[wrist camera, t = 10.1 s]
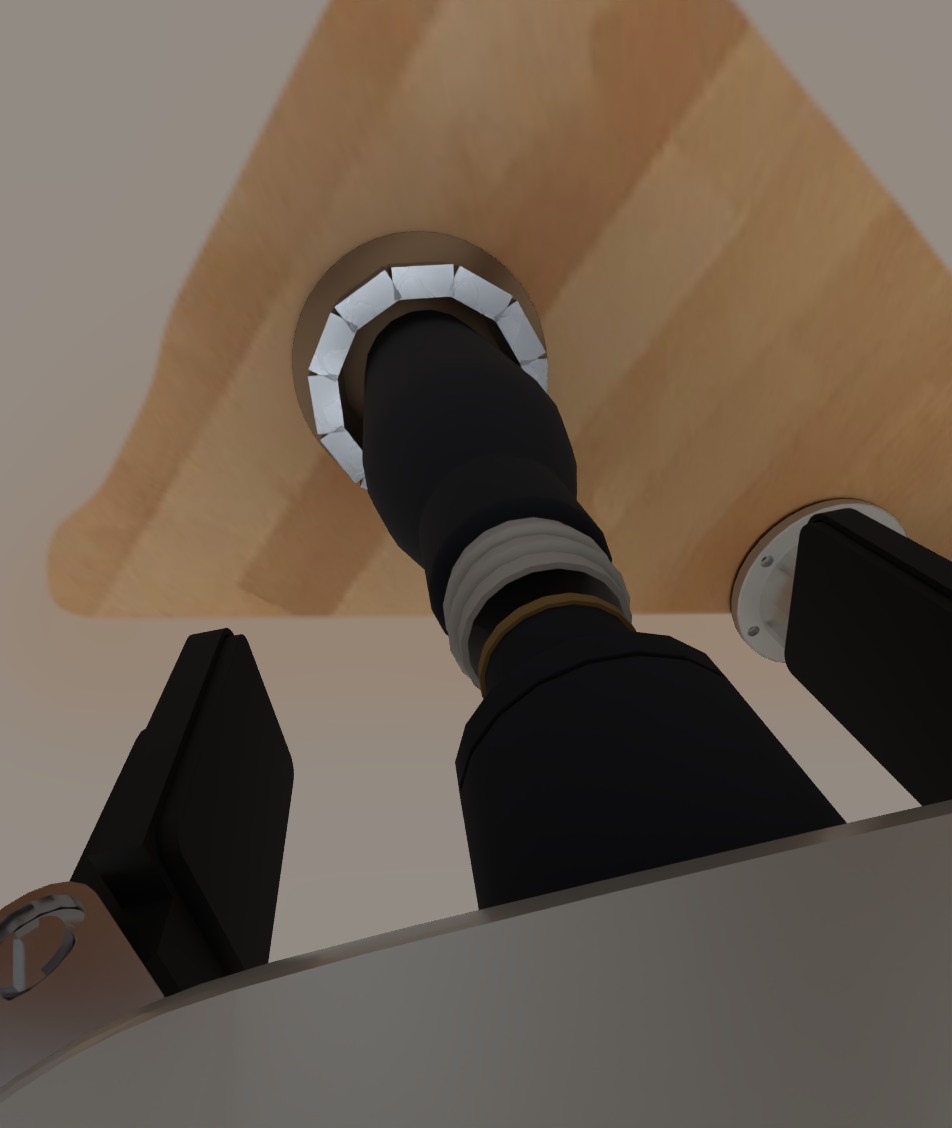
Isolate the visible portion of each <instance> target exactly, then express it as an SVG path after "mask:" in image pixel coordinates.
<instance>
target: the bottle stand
mask: <svg viewBox="0 0 952 1128" xmlns="http://www.w3.org/2000/svg"><path fill="white" fill-rule="evenodd" d="M422 310H435V311H439V312H443V313H447V314H451V315H453V316H454V317H456V318H457V319H459V320H461V321H462V322H464V323H465V324H467V325H468V326H470V327H471V328H472V329H473V330H475V331H476V332H477V333H478V334H480V335H481V336H482V337H483V338H485V339H486V340H487V341H488V342H489V343H491V344H492V345H493V346H494V347H496V348H497V349H498V350H499V351H501V352H502V353H503V354H504V355H506V356H507V357H508V358H509V359H511V360H512V361H513V362H514V363H516V364H517V365H518V366H519V367H520V368H522V369H523V370H524V371H525V372H527V373H528V374H529V375H530V376H532V377H533V378H534V379H535V380H536V381H537V382H538V383H539V384H540V386H541V387H542V388H543V389H544V391H545V392H546V393H547V355H546V345H545V340H544V334H543V330H542V327H541V324H540V321H539V318H538V315H537V313H536V310H535V308H534V306H533V304H532V302H531V300H530V298H529V297H528V295H527V293H526V292H525V290H524V289H523V287H522V285H521V284H520V283H519V282H518V281H517V279H516V278H515V277H514V276H513V275H512V273H511V272H510V271H509V270H508V269H507V268H506V267H505V266H503V265H502V264H501V263H500V262H499V261H498V260H497V259H496V258H494V257H493V256H491V255H490V254H488V253H487V252H485V251H484V250H482V249H481V248H479V247H477V246H475V245H473V244H471V243H469V242H467V241H464V240H461V239H458V238H455V237H452V236H449V235H444V234H438V233H433V232H404V233H396V234H391V235H388V236H384V237H381V238H377V239H374V240H372V241H370V242H368V243H365V244H363V245H361V246H359V247H357V248H356V249H354V250H353V251H351V252H350V253H348V254H346V255H345V256H343V257H342V258H341V259H340V260H339V261H338V262H336V263H335V264H334V265H333V266H332V267H331V268H330V269H329V270H328V271H327V272H326V273H325V275H324V276H323V277H322V278H321V279H320V280H319V282H318V283H317V284H316V286H315V288H314V289H313V291H312V292H311V294H310V295H309V297H308V299H307V301H306V303H305V306H304V308H303V310H302V312H301V314H300V318H299V321H298V325H297V328H296V331H295V337H294V344H293V354H292V370H293V379H294V386H295V390H296V394H297V399H298V402H299V405H300V408H301V410H302V413H303V415H304V418H305V420H306V422H307V424H308V426H309V427H310V429H311V431H312V433H313V434H314V436H315V437H316V439H317V440H318V441H319V443H320V444H321V446H322V447H323V448H324V449H325V450H326V451H327V452H328V453H329V455H330V456H331V457H332V458H333V459H334V460H335V461H337V462H338V463H339V464H340V465H341V466H342V468H343V469H344V470H345V471H346V473H347V474H348V475H349V476H350V478H351V479H352V480H353V481H354V483H357V482H358V481H360V487H361V488H364V489H366V490H367V485H366V479H365V474H364V468H363V463H362V451H363V416H364V381H365V369H366V362H367V355H368V352H369V350H370V348H371V346H372V344H373V342H374V340H375V338H376V336H377V335H378V334H379V333H380V332H381V331H382V330H383V329H384V328H385V327H386V326H387V325H388V324H389V323H390V322H391V321H392V320H394V319H396V318H398V317H400V316H403V315H405V314H407V313H409V312H413V311H422Z"/></svg>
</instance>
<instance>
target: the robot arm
mask: <svg viewBox="0 0 952 1128" xmlns="http://www.w3.org/2000/svg"><path fill="white" fill-rule="evenodd" d="M731 607H732V617H733V621H734V624H735V627H736V629H737V631H738V632H739V634H740V636H741V637H742V639H743V640H744V641H745V642H746V643H747V644H748V645H749V646H750V647H751V648H752V649H753V650H755V651H756V652H757V653H758V654H760V655H761V656H763V657H765V658H768V659H770V660H773V661H777V662H783V663H786V664H787V667H788V669H789V671H790V672H791V673H792V675H793V676H794V677H795V678H796V679H797V680H798V681H799V682H800V683H801V684H802V685H803V686H804V687H805V688H806V689H807V690H808V691H809V692H810V693H811V694H812V695H813V696H814V697H815V698H816V699H817V700H818V701H819V702H820V703H821V704H822V705H823V706H824V707H825V708H826V709H827V710H828V711H829V712H830V713H831V714H832V715H833V716H834V717H835V718H836V719H837V720H838V721H839V722H840V723H841V724H842V725H843V726H844V727H845V728H846V729H847V730H848V731H849V732H850V733H851V734H852V735H853V736H854V737H855V738H856V739H857V740H858V741H859V742H860V743H861V744H862V745H863V746H864V747H865V748H866V750H867V751H869V752H870V754H871V755H872V756H874V758H875V759H876V760H877V761H878V762H879V763H880V764H881V765H882V766H884V768H885V769H886V770H887V771H888V772H889V773H890V774H891V775H892V776H893V777H894V778H895V779H896V780H897V781H898V782H899V783H900V784H901V785H902V786H903V787H904V788H905V789H906V790H907V791H908V792H909V793H910V794H911V795H912V796H913V797H914V798H915V799H916V800H917V801H918V802H919V803H920V804H921V805H922V806H921V807H917V808H913V809H908V810H904V811H900V812H895V813H891V814H886V815H882V816H878V817H873V818H869V819H864V820H860V821H856V822H851V823H847V824H842V825H838V826H834V827H829V828H825V829H821V830H816V831H812V832H808V833H804V834H799V835H795V836H791V837H786V838H782V839H778V840H773V841H769V842H765V843H761V844H756V845H752V846H748V847H743V848H739V849H735V850H731V851H726V852H722V853H718V854H713V855H709V856H705V857H701V858H696V859H692V860H688V861H684V862H679V863H675V864H671V865H667V866H662V867H658V868H654V869H650V870H645V871H641V872H637V873H632V874H628V875H624V876H620V877H615V878H611V879H607V880H603V881H599V882H594V883H590V884H586V885H582V886H578V887H574V888H569V889H565V890H561V891H557V892H553V893H549V894H544V895H540V896H536V897H532V898H528V899H523V900H519V901H515V902H511V903H507V904H503V905H498V906H494V907H490V908H486V909H482V910H478V911H473V912H469V913H465V914H461V915H457V916H453V917H449V918H444V919H440V920H436V921H432V922H428V923H424V924H419V925H415V926H411V927H407V928H403V929H399V930H395V931H391V932H388V933H383V934H380V935H376V936H372V937H368V938H364V939H361V940H356V941H353V942H348V943H345V944H341V945H337V946H333V947H329V948H325V949H321V950H317V951H314V952H310V953H306V954H302V955H298V956H294V957H290V958H286V959H283V960H279V961H275V962H271V963H268V959H269V952H270V946H271V938H272V931H273V924H274V917H275V910H276V903H277V895H278V888H279V881H280V874H281V866H282V860H283V852H284V845H285V838H286V831H287V824H288V816H289V809H290V802H291V795H292V788H293V780H294V769H293V763H292V759H291V755H290V752H289V750H288V747H287V745H286V742H285V739H284V736H283V734H282V731H281V728H280V726H279V723H278V720H277V718H276V715H275V713H274V710H273V707H272V704H271V702H270V699H269V697H268V694H267V691H266V689H265V686H264V683H263V681H262V678H261V675H260V673H259V670H258V668H257V665H256V662H255V659H254V657H253V654H252V651H251V649H250V646H249V643H248V641H247V639H246V637H245V636H244V635H242V634H240V635H235V636H234V634H233V633H232V631H231V630H230V629H228V628H224V629H219V630H213V631H209V632H203V633H198V634H193V635H190V636H189V637H188V639H187V640H186V643H185V645H184V647H183V649H182V651H181V653H180V656H179V658H178V660H177V662H176V664H175V667H174V669H173V671H172V673H171V675H170V678H169V680H168V682H167V684H166V686H165V688H164V691H163V693H162V695H161V697H160V699H159V701H158V704H157V706H156V708H155V710H154V712H153V714H152V717H151V719H150V721H149V723H148V725H147V727H146V729H144V730H143V731H141V733H140V734H139V736H138V738H137V739H136V741H135V743H134V745H133V747H132V749H131V752H130V753H129V756H128V758H127V760H126V762H125V764H124V766H123V768H122V771H121V773H120V775H119V777H118V779H117V781H116V783H115V785H114V788H113V790H112V792H111V794H110V796H109V798H108V800H107V802H106V805H105V807H104V809H103V811H102V813H101V815H100V818H99V820H98V822H97V824H96V826H95V828H94V830H93V832H92V834H91V837H90V839H89V841H88V843H87V845H86V848H85V849H84V851H83V854H82V856H81V858H80V860H79V862H78V865H77V866H76V869H75V871H74V873H73V875H72V877H71V879H70V881H69V882H62V883H55V884H50V885H47V886H44V887H42V888H39V889H37V890H34V891H31V892H29V893H27V894H25V895H23V896H22V897H20V898H18V899H17V900H15V901H13V902H12V903H10V904H8V905H7V906H5V907H4V908H2V909H1V910H0V1128H952V562H951V561H949V560H947V559H946V558H944V557H942V556H940V555H938V554H936V553H935V552H933V551H931V550H929V549H927V548H925V547H924V546H922V545H920V544H918V543H916V542H914V541H912V540H911V539H909V538H907V535H906V532H905V530H904V528H903V527H902V525H901V524H900V523H899V521H898V520H897V519H896V518H895V517H893V516H892V515H891V514H890V513H888V512H887V511H885V510H883V509H881V508H879V507H877V506H875V505H873V504H871V503H868V502H864V501H861V500H857V499H837V500H830V501H824V502H821V503H818V504H815V505H812V506H809V507H806V508H804V509H802V510H800V511H798V512H796V513H794V514H793V515H791V516H789V517H787V518H786V519H785V520H783V521H782V522H780V523H779V524H778V525H776V526H775V527H774V528H772V529H771V530H770V531H769V532H768V533H767V534H766V535H765V536H764V537H763V538H762V539H761V540H760V541H759V542H758V543H757V545H756V546H755V547H754V548H753V550H752V551H751V552H750V554H749V555H748V556H747V558H746V560H745V562H744V563H743V565H742V567H741V569H740V570H739V573H738V576H737V579H736V581H735V584H734V588H733V594H732V599H731Z"/></svg>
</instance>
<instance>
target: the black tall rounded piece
mask: <svg viewBox="0 0 952 1128" xmlns="http://www.w3.org/2000/svg"><path fill="white" fill-rule="evenodd" d="M362 463H363V468H364V474H365V479H366V485H367V490H368V494H369V496H370V498H371V500H372V502H373V504H374V506H375V508H376V509H377V511H378V513H379V515H380V517H381V518H382V520H383V522H384V524H385V526H386V527H387V529H388V531H389V533H390V534H391V536H392V537H393V539H394V540H395V542H396V543H397V545H398V546H399V547H400V548H401V549H402V550H403V551H404V552H406V553H407V554H408V555H409V556H410V557H411V558H412V559H413V560H414V561H415V562H417V563H418V564H419V565H420V566H421V567H422V568H424V569H425V574H426V580H427V586H428V591H429V597H430V603H431V609H432V611H433V613H434V615H435V616H436V618H437V620H438V621H439V624H440V625H441V627H442V629H443V630H444V632H445V634H446V635H448V636H449V642H450V650H451V652H452V654H453V656H454V657H455V659H456V661H457V663H458V665H459V666H460V668H461V670H462V672H463V673H464V674H465V675H467V676H468V677H469V678H470V679H471V680H472V682H473V684H474V685H475V686H476V687H477V688H479V689H480V690H481V693H482V697H483V699H484V700H483V701H482V702H481V704H480V705H479V707H478V708H477V709H476V711H475V712H474V714H473V715H472V717H471V718H470V719H469V721H468V722H467V724H466V725H465V729H464V732H463V736H462V740H461V743H460V747H459V750H458V754H457V758H456V761H455V764H456V771H457V778H458V785H459V793H460V799H461V805H462V811H463V817H464V823H465V829H466V835H467V841H468V847H469V853H470V859H471V865H472V871H473V877H474V883H475V889H476V895H477V902H478V908H479V910H482V909H486V908H490V907H494V906H498V905H503V904H507V903H511V902H515V901H519V900H523V899H528V898H532V897H536V896H540V895H544V894H549V893H553V892H557V891H561V890H565V889H569V888H574V887H578V886H582V885H586V884H590V883H594V882H599V881H603V880H607V879H611V878H615V877H620V876H624V875H628V874H632V873H637V872H641V871H645V870H650V869H654V868H658V867H662V866H667V865H671V864H675V863H679V862H684V861H688V860H692V859H696V858H701V857H705V856H709V855H713V854H718V853H722V852H726V851H731V850H735V849H739V848H743V847H748V846H752V845H756V844H761V843H765V842H769V841H773V840H778V839H782V838H786V837H791V836H795V835H799V834H804V833H808V832H812V831H816V830H821V829H825V828H829V827H834V826H838V825H842V824H847V823H846V822H845V820H844V819H843V818H842V817H841V816H840V815H839V813H838V812H837V811H836V810H835V808H834V807H833V806H832V805H831V803H829V801H828V800H827V799H826V797H825V796H824V795H823V794H822V793H821V791H820V790H819V789H818V788H817V787H816V786H815V784H814V783H813V782H812V781H811V779H810V778H809V777H808V776H807V774H805V772H804V771H803V770H802V768H801V767H800V766H799V765H798V764H797V762H796V761H795V760H794V759H793V758H792V756H791V755H790V754H789V753H788V751H787V750H786V749H785V748H784V747H783V745H782V744H781V743H780V742H779V741H778V739H777V738H776V737H775V736H774V735H773V733H772V732H771V731H770V730H769V729H768V727H767V726H766V725H765V724H764V722H763V721H762V720H761V719H760V718H759V716H758V715H757V714H756V713H755V712H754V711H753V709H752V708H751V707H750V706H749V704H748V703H747V702H746V701H745V700H744V698H743V697H742V696H741V695H740V693H739V692H738V691H737V690H736V689H735V687H734V686H733V685H732V684H731V683H730V681H729V680H728V679H727V678H726V677H725V676H724V674H723V673H722V672H721V671H720V670H719V669H718V667H717V666H716V665H715V664H714V663H713V662H712V661H711V660H710V658H709V657H708V656H707V655H706V654H705V653H703V652H701V651H699V650H697V649H695V648H693V647H691V646H689V645H687V644H685V643H683V642H681V641H678V640H677V639H674V638H672V637H670V636H666V635H657V634H648V633H640V632H636V630H635V628H634V627H633V626H632V624H631V623H632V614H631V612H630V609H629V608H630V597H629V594H628V592H627V589H626V586H625V583H624V580H623V577H622V575H621V573H620V572H619V571H618V570H617V569H616V568H615V566H614V565H613V564H612V557H611V554H610V551H609V549H608V546H607V543H606V540H605V537H604V534H603V532H602V531H601V530H600V528H599V527H598V526H597V525H596V523H595V522H594V521H593V520H592V519H591V517H590V516H589V515H588V514H587V512H586V511H585V510H584V509H583V508H582V506H581V505H580V504H579V503H578V501H577V465H576V461H575V457H574V453H573V450H572V446H571V444H570V441H569V438H568V435H567V432H566V429H565V427H564V424H563V421H562V418H561V416H560V414H559V411H558V409H557V406H556V404H555V403H554V402H553V401H552V399H551V398H550V397H549V396H548V394H547V393H546V392H545V391H544V389H543V388H542V387H541V386H540V384H539V383H538V382H537V381H536V380H535V379H534V378H533V377H532V376H530V375H529V374H528V373H527V372H525V371H524V370H523V369H522V368H520V367H519V366H518V365H517V364H516V363H514V362H513V361H512V360H511V359H509V358H508V357H507V356H506V355H504V354H503V353H502V352H501V351H499V350H498V349H497V348H496V347H494V346H493V345H492V344H491V343H489V342H488V341H487V340H486V339H485V338H483V337H482V336H481V335H480V334H478V333H477V332H476V331H475V330H473V329H472V328H471V327H470V326H468V325H467V324H465V323H464V322H462V321H461V320H459V319H457V318H456V317H454V316H453V315H451V314H447V313H443V312H439V311H435V310H422V311H413V312H409V313H407V314H405V315H403V316H400V317H398V318H396V319H394V320H392V321H391V322H390V323H389V324H388V325H387V326H386V327H385V328H384V329H383V330H382V331H381V332H380V333H379V334H378V335H377V336H376V338H375V340H374V342H373V344H372V346H371V348H370V350H369V352H368V355H367V362H366V369H365V381H364V416H363V451H362Z"/></svg>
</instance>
